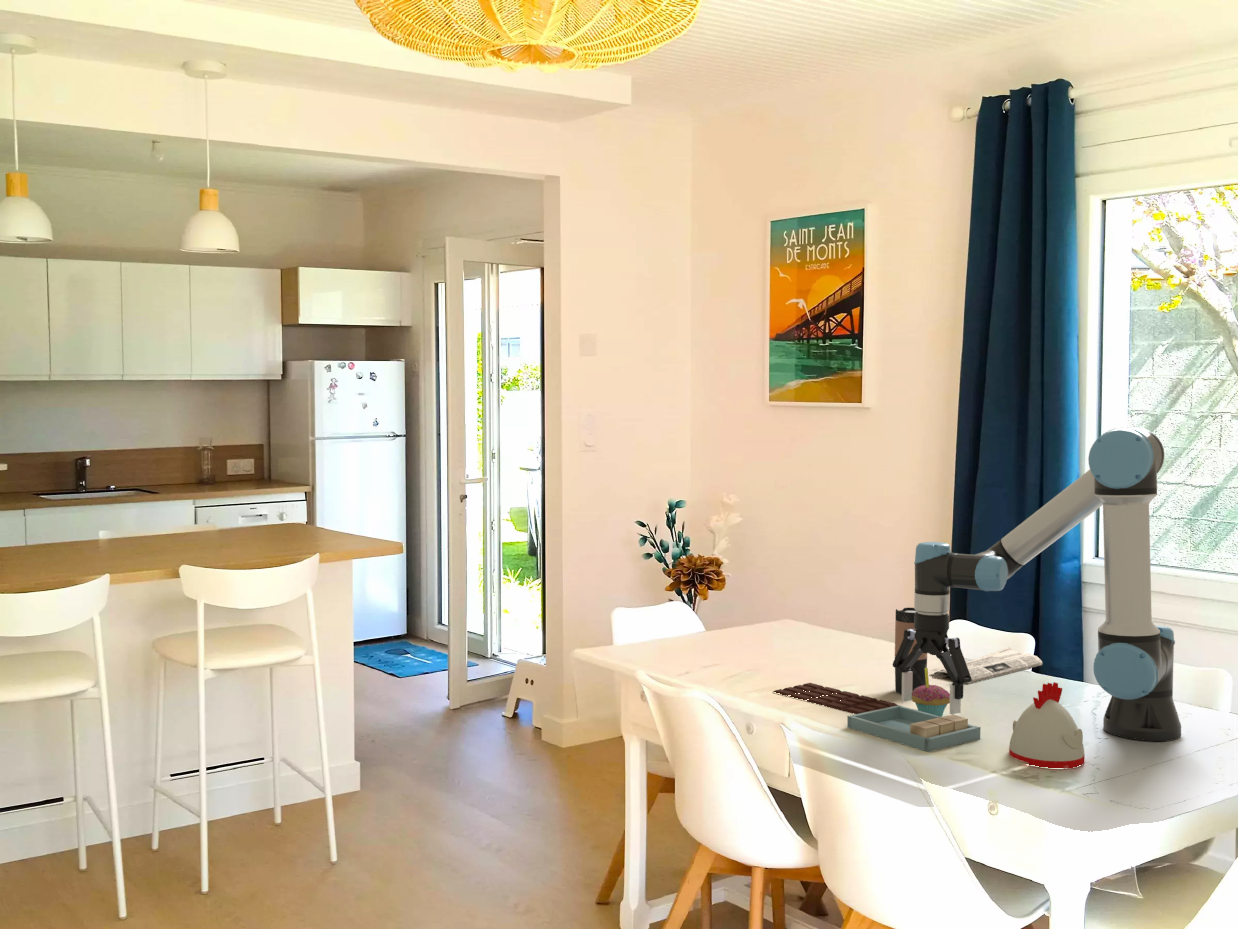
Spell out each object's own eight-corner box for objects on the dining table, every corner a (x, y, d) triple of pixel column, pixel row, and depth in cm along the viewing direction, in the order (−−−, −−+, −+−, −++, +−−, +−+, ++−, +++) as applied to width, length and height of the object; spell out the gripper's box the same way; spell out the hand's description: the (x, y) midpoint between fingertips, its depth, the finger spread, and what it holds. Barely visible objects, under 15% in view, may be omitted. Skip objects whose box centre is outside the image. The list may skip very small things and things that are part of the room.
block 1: (938, 745, 240) (938, 725, 240) (925, 748, 238) (925, 728, 238) (923, 740, 244) (923, 721, 243) (910, 743, 241) (910, 724, 241)
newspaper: (968, 686, 295) (968, 672, 295) (926, 677, 305) (926, 664, 305) (1045, 666, 318) (1045, 653, 318) (1003, 658, 327) (1004, 646, 327)
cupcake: (935, 724, 258) (936, 669, 258) (902, 716, 265) (903, 663, 264) (957, 717, 264) (958, 664, 263) (925, 710, 270) (925, 657, 270)
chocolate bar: (771, 694, 287) (771, 690, 287) (809, 686, 295) (809, 682, 295) (859, 717, 266) (859, 712, 266) (897, 707, 274) (897, 703, 274)
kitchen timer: (1098, 761, 231) (1100, 685, 231) (1056, 774, 223) (1057, 695, 223) (1037, 745, 243) (1038, 672, 242) (994, 756, 235) (995, 681, 234)
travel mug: (927, 696, 283) (928, 613, 282) (894, 695, 284) (895, 612, 283) (926, 689, 290) (926, 608, 289) (893, 687, 292) (894, 607, 291)
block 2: (953, 741, 243) (953, 722, 243) (940, 744, 241) (940, 725, 240) (937, 736, 246) (938, 717, 246) (924, 740, 244) (925, 720, 244)
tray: (980, 741, 245) (980, 727, 245) (928, 754, 236) (928, 739, 236) (898, 718, 263) (898, 705, 263) (847, 730, 254) (847, 716, 254)
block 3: (967, 737, 246) (967, 718, 245) (954, 740, 243) (955, 721, 243) (952, 733, 249) (952, 714, 249) (939, 736, 247) (939, 717, 246)
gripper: (989, 618, 255) (987, 716, 256) (900, 602, 276) (899, 693, 277) (966, 622, 251) (964, 721, 252) (877, 605, 271) (876, 697, 272)
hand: (930, 707), depth 264 cm, fingers open, 13 cm apart
